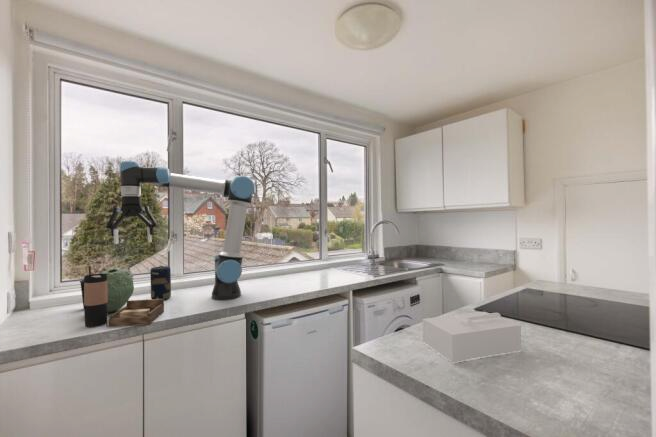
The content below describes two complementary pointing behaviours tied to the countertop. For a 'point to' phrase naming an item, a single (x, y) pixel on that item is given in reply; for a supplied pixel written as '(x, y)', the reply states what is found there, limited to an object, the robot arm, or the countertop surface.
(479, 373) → the countertop surface
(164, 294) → the canister
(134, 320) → the wooden tray
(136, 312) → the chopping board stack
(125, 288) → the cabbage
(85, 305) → the travel mug
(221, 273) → the robot arm
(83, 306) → the drinking cup
